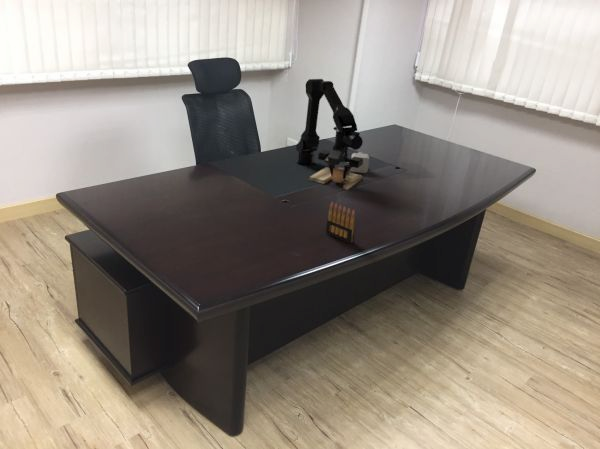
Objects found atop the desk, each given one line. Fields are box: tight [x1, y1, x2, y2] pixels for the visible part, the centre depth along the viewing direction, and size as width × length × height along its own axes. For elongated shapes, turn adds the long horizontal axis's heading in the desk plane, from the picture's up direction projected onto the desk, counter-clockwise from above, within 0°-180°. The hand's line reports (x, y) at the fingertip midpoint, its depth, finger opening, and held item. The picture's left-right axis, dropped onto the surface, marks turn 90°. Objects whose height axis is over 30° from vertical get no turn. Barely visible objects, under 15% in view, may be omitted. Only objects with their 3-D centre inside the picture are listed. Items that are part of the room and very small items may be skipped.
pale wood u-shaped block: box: [309, 163, 363, 191], centre depth 218 cm, size 18×16×6 cm
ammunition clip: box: [325, 201, 356, 244], centre depth 167 cm, size 11×2×12 cm, turn 50°
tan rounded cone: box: [331, 166, 345, 183], centre depth 214 cm, size 5×5×5 cm
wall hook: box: [349, 151, 370, 174], centre depth 231 cm, size 8×10×10 cm
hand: (338, 177), depth 214 cm, fingers open, 5 cm apart
